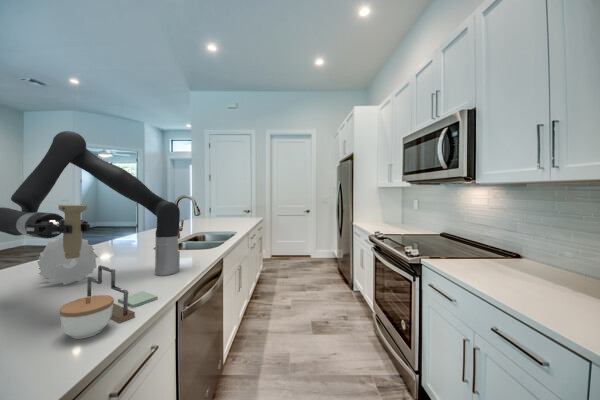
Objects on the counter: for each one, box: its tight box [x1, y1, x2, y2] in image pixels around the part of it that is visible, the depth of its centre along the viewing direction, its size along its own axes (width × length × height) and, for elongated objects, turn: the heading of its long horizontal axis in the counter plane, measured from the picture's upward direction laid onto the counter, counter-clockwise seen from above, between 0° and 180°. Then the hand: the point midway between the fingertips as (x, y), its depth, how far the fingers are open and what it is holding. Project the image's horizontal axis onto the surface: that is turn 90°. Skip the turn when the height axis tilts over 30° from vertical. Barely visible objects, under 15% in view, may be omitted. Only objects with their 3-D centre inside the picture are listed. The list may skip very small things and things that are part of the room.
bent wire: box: [86, 265, 136, 324], centre depth 76 cm, size 4×24×14 cm, turn 62°
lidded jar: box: [59, 294, 115, 340], centre depth 64 cm, size 11×11×9 cm
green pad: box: [117, 290, 158, 309], centre depth 84 cm, size 8×9×1 cm
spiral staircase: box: [36, 235, 99, 286], centre depth 103 cm, size 18×18×25 cm
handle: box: [58, 204, 88, 259], centre depth 69 cm, size 5×6×15 cm
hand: (79, 228), depth 68 cm, fingers closed on handle, 3 cm apart
